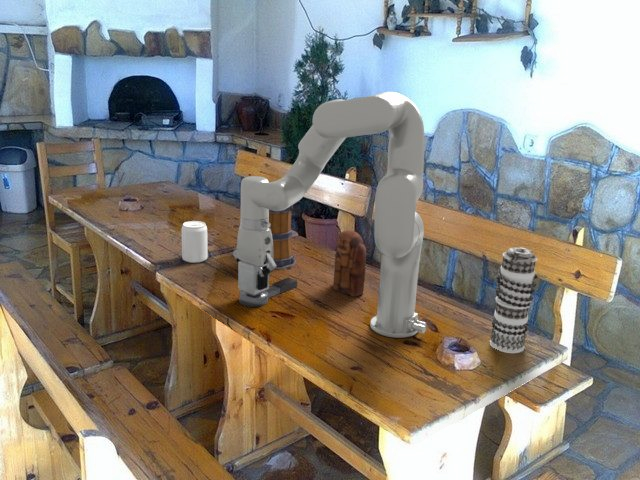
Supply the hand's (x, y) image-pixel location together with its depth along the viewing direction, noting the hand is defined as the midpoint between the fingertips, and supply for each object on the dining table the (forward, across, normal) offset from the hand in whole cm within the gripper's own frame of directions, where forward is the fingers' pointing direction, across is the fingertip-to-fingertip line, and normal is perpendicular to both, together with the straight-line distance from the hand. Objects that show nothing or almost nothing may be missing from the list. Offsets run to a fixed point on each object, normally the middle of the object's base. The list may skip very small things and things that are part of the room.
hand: (253, 284), depth 180 cm
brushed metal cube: (+1, 0, 0) cm, 1 cm away
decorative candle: (+5, -64, -24) cm, 69 cm away
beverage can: (+5, +37, -11) cm, 39 cm away
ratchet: (+5, 0, -7) cm, 8 cm away
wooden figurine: (+5, -14, -25) cm, 29 cm away
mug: (+5, +20, -29) cm, 36 cm away
